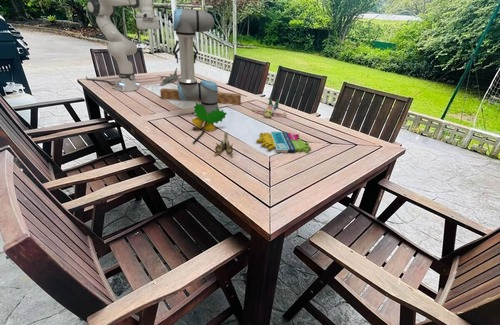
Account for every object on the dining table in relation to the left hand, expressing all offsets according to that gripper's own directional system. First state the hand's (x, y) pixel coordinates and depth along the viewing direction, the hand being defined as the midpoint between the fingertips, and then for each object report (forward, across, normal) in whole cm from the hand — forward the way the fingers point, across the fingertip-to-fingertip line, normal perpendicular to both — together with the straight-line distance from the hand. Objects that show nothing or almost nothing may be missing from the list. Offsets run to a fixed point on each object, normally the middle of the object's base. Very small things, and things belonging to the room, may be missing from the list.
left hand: (149, 35), depth 199 cm
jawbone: (+46, +61, +100) cm, 126 cm away
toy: (+46, -15, +97) cm, 109 cm away
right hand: (+19, -13, +22) cm, 32 cm away
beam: (+46, -9, +38) cm, 61 cm away
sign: (+46, +34, +123) cm, 136 cm away
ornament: (+46, +38, +76) cm, 97 cm away
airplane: (+46, -47, -23) cm, 69 cm away
